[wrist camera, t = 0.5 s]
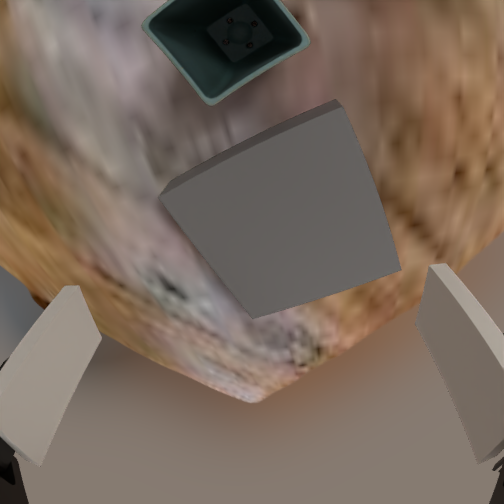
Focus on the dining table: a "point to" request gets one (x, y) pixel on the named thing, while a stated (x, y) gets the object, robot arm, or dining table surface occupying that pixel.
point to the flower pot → (215, 32)
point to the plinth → (287, 213)
